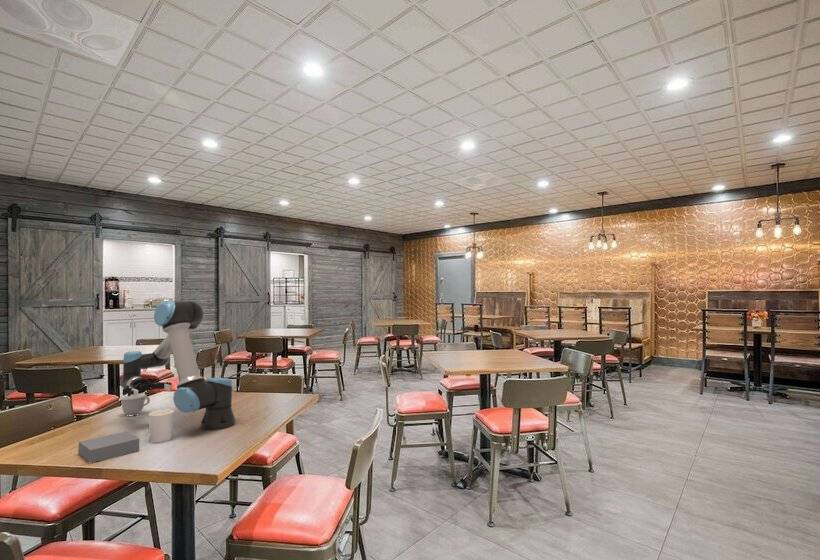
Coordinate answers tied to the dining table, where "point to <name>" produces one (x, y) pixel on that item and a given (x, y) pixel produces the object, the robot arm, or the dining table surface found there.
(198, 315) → the robot arm
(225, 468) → the dining table surface
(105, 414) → the dining table surface
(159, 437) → the candle holder
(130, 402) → the teacup
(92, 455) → the riser block
